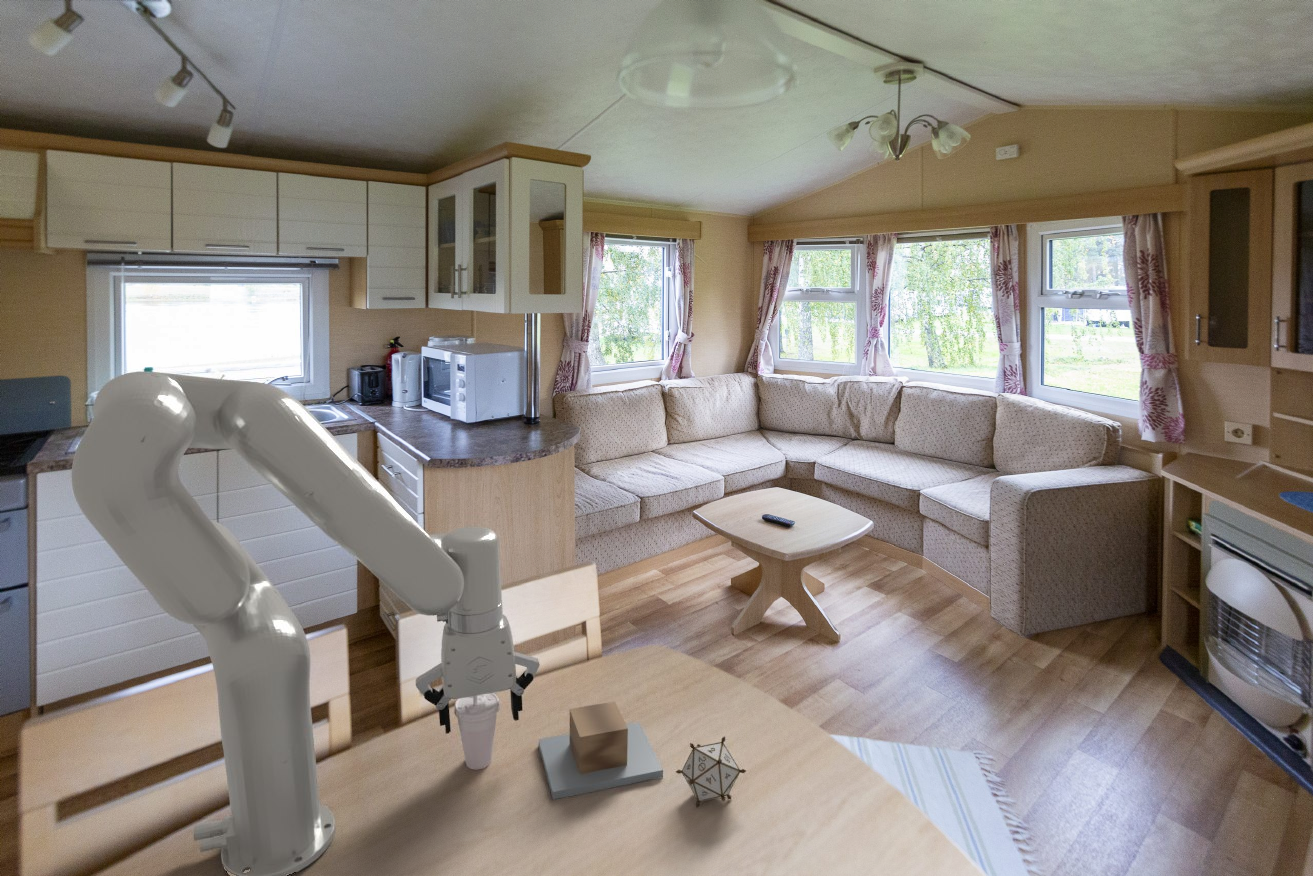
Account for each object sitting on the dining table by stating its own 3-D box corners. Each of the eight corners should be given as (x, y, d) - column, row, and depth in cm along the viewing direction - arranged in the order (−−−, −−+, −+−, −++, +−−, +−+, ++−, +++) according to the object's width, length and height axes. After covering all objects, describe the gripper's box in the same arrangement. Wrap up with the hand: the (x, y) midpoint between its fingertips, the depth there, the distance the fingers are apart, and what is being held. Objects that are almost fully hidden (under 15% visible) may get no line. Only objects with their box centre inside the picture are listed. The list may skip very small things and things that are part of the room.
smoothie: (448, 772, 104) (444, 685, 101) (467, 744, 110) (464, 661, 107) (490, 778, 103) (488, 690, 100) (507, 750, 109) (505, 666, 106)
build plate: (552, 799, 99) (552, 792, 99) (538, 746, 110) (538, 739, 110) (662, 777, 104) (663, 770, 104) (638, 728, 115) (638, 721, 115)
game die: (718, 827, 100) (740, 808, 93) (663, 799, 101) (680, 777, 93) (737, 765, 106) (759, 743, 99) (684, 739, 107) (702, 715, 99)
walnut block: (579, 774, 102) (579, 737, 101) (569, 744, 109) (569, 709, 107) (627, 765, 105) (627, 728, 103) (614, 736, 111) (614, 701, 110)
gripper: (410, 637, 95) (420, 749, 99) (541, 617, 100) (545, 725, 105) (410, 611, 102) (419, 717, 106) (532, 594, 107) (536, 696, 111)
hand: (481, 721), depth 105 cm, fingers open, 9 cm apart
